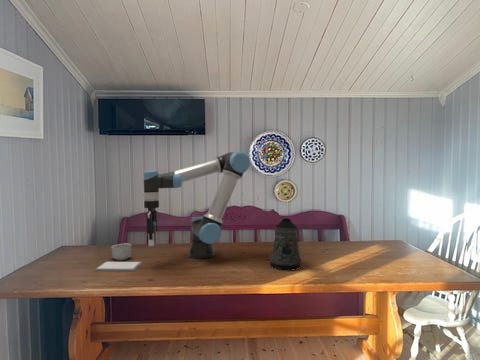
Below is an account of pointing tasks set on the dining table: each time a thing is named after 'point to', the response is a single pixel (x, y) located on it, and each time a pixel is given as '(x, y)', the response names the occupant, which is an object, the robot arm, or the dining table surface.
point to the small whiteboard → (118, 266)
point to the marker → (154, 235)
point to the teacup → (121, 251)
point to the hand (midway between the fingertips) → (152, 244)
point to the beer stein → (285, 247)
